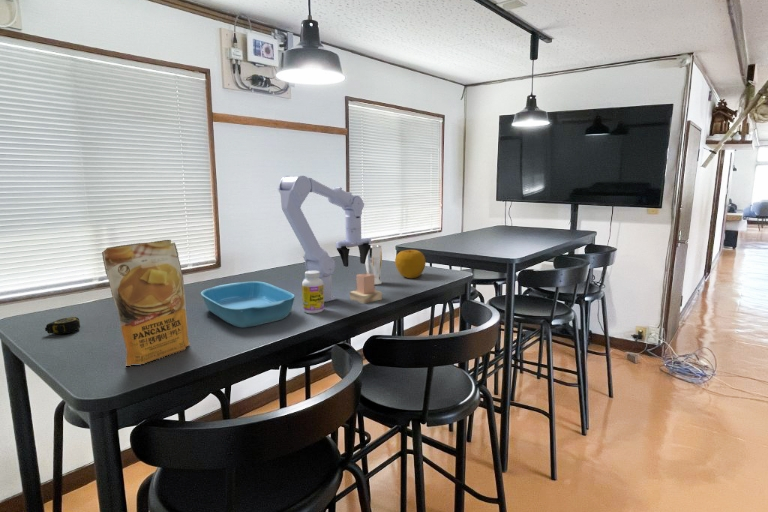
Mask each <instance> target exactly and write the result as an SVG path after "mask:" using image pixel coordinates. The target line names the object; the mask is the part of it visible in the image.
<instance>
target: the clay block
mask: <svg viewBox="0 0 768 512" xmlns="http://www.w3.org/2000/svg"><path fill="white" fill-rule="evenodd" d="M375 287H376V285H375V281H374V275H372V274H369V273H367V272H366V273H365V272H364V273H359V274H356V290H357V292H360V293H363V294H367V293H371V292H375V290H376V289H375Z"/></svg>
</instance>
